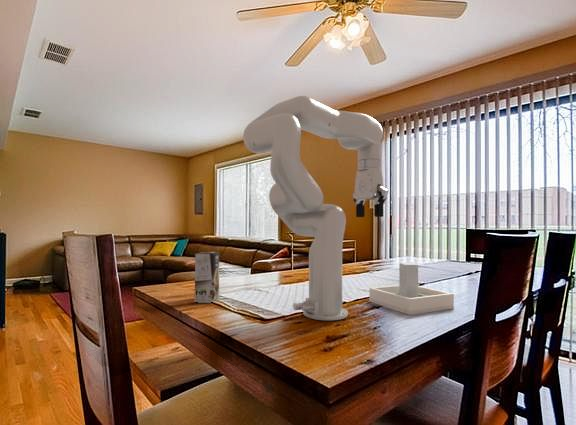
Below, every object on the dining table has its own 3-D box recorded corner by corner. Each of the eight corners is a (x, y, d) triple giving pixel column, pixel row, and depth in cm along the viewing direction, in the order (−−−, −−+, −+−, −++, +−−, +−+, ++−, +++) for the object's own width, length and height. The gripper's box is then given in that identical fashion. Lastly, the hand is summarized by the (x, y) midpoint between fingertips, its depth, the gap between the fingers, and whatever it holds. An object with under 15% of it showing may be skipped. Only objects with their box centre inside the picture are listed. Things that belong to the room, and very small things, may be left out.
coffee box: (213, 303, 109) (214, 253, 110) (193, 303, 109) (194, 253, 110) (219, 297, 118) (220, 251, 119) (201, 297, 118) (202, 250, 119)
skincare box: (418, 303, 105) (418, 264, 106) (405, 303, 105) (405, 264, 106) (411, 299, 111) (411, 262, 112) (398, 298, 111) (398, 262, 112)
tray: (409, 315, 96) (409, 299, 96) (369, 301, 113) (369, 287, 113) (453, 308, 104) (453, 293, 104) (410, 296, 120) (409, 283, 120)
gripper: (345, 169, 120) (345, 217, 120) (377, 161, 105) (377, 216, 104) (362, 170, 123) (362, 217, 123) (395, 163, 108) (396, 216, 107)
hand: (369, 216), depth 113 cm, fingers open, 9 cm apart
